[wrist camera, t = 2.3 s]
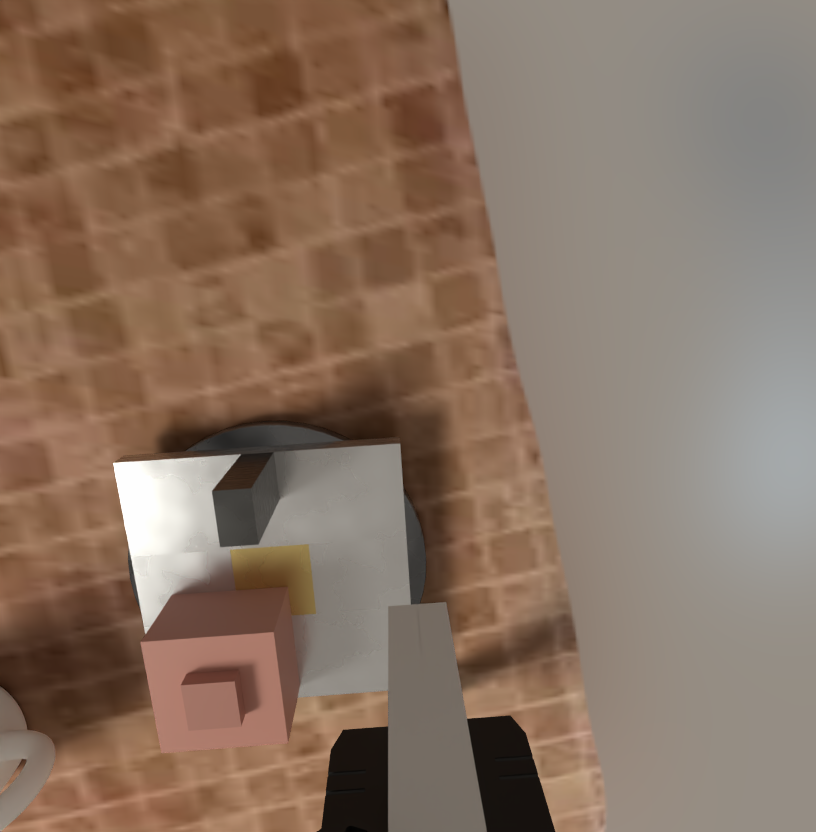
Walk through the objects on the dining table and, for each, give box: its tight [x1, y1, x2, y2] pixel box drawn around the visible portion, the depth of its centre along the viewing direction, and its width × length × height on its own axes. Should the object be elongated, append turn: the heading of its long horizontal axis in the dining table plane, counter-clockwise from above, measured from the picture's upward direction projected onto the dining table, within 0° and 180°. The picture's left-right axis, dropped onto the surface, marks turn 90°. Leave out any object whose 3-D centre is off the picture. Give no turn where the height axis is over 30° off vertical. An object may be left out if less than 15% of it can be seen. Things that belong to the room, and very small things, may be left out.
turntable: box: [113, 437, 411, 697], centre depth 29 cm, size 14×14×6 cm
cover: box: [140, 587, 300, 753], centre depth 29 cm, size 6×6×5 cm
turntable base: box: [128, 421, 426, 610], centre depth 32 cm, size 16×16×1 cm
